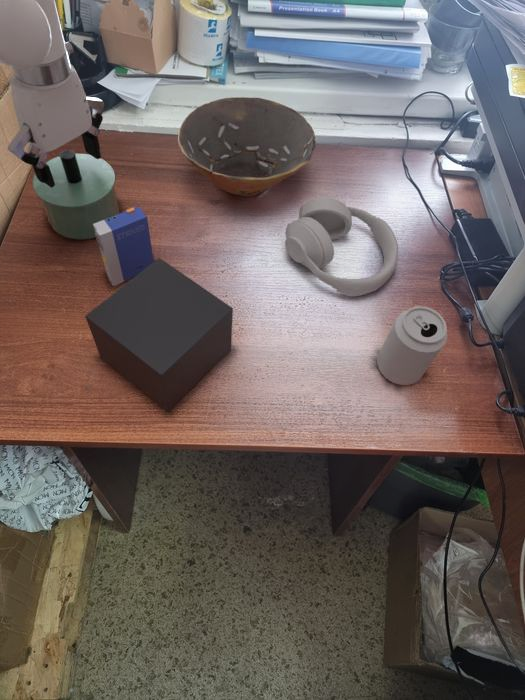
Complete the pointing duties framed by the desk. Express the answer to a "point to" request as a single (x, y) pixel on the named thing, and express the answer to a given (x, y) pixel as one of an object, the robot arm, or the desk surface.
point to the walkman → (124, 244)
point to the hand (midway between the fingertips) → (71, 168)
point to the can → (412, 345)
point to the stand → (162, 332)
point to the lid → (76, 181)
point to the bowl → (246, 143)
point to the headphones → (332, 223)
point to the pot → (81, 217)
